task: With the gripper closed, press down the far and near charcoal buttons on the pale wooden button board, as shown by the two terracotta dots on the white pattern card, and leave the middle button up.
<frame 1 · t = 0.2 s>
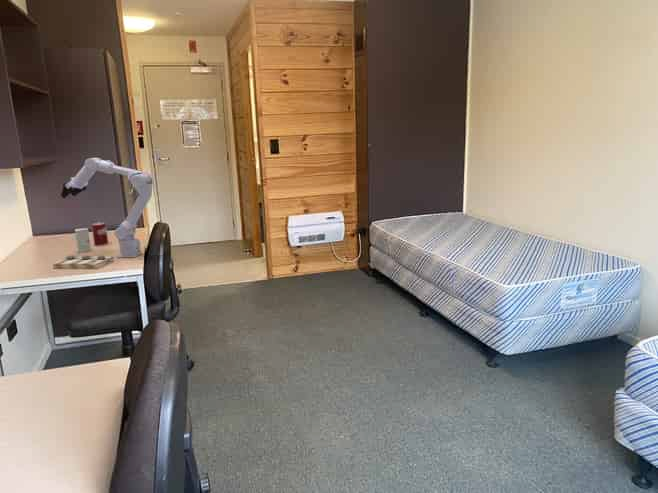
hand: (67, 195, 242), 31 cm above the table, tool tilted 45°, fingers open, 7 cm apart
skincare box: (84, 251, 258), on the table
soda can: (101, 244, 273), on the table
middle button: (85, 258, 233), point 3 cm above the table, slide at 0.0 cm
far button: (70, 258, 234), point 3 cm above the table, slide at 0.0 cm
button board: (84, 264, 232), on the table
puzzle toy: (128, 244, 272), on the table
near button: (101, 258, 232), point 3 cm above the table, slide at 0.0 cm
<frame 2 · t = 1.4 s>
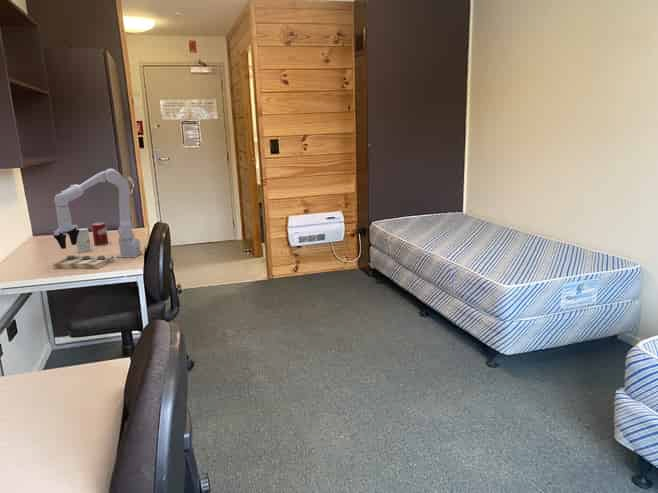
hand: (68, 246, 233), 8 cm above the table, tool pointing down, fingers open, 7 cm apart
nothing on the table moved.
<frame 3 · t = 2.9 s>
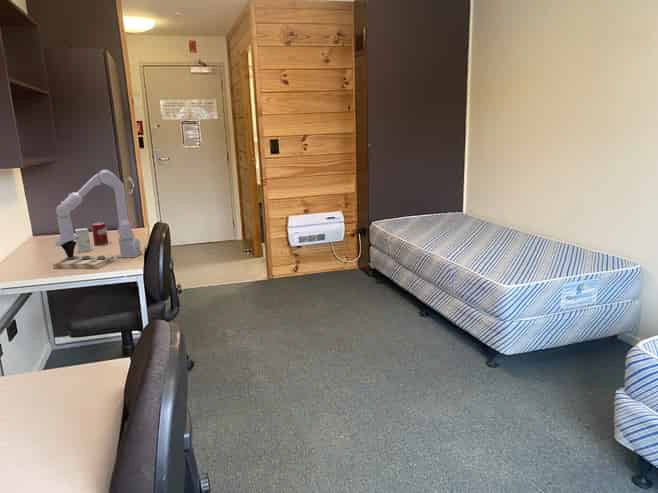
hand: (70, 256, 234), 3 cm above the table, tool pointing down, fingers closed, pressing on far button
far button: (70, 258, 234), point 3 cm above the table, slide at 0.2 cm, touching gripper
everything else where it was.
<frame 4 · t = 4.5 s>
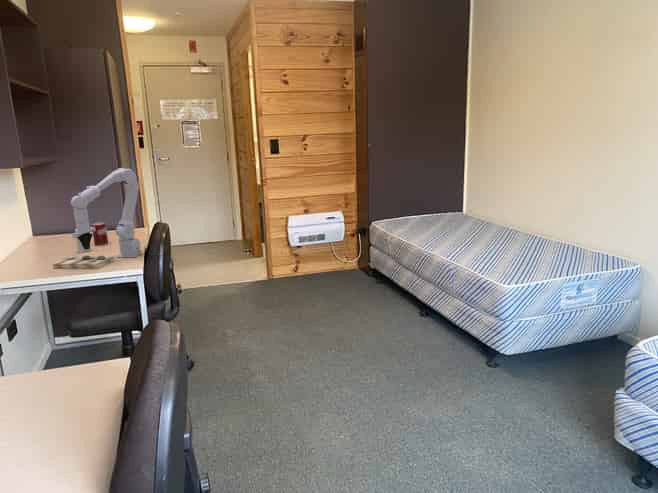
hand: (86, 249, 232), 7 cm above the table, tool pointing down, fingers closed
far button: (71, 260, 235), point 2 cm above the table, slide at 1.0 cm
everything else where it was.
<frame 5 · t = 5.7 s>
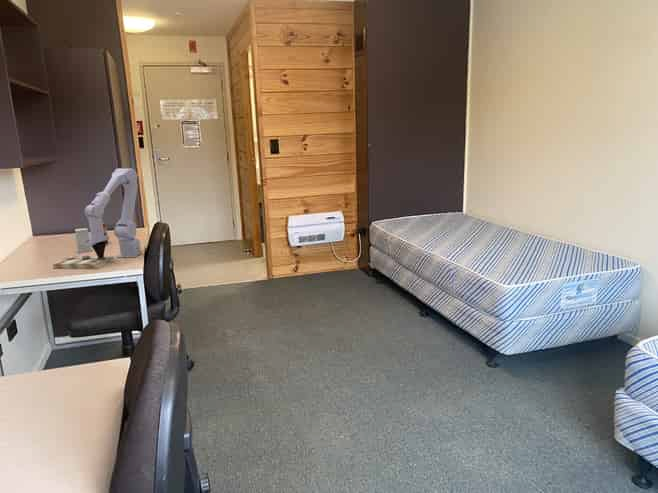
hand: (100, 257, 232), 3 cm above the table, tool pointing down, fingers closed, pressing on near button
near button: (101, 259, 232), point 2 cm above the table, slide at 0.5 cm, touching gripper
everything else where it was.
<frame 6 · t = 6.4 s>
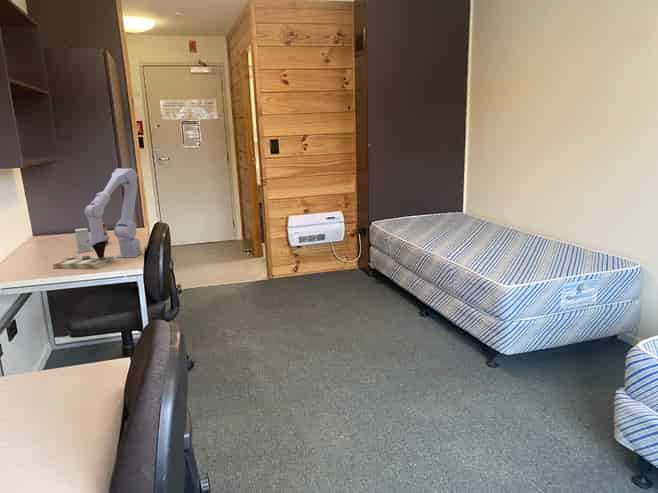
hand: (101, 257, 232), 3 cm above the table, tool pointing down, fingers closed
near button: (101, 260, 232), point 2 cm above the table, slide at 1.0 cm
everything else where it was.
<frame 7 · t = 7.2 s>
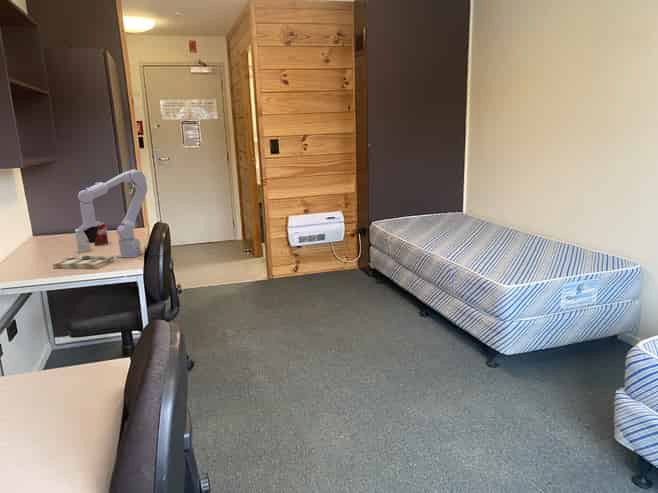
hand: (92, 242, 236), 9 cm above the table, tool pointing down, fingers closed
nothing on the table moved.
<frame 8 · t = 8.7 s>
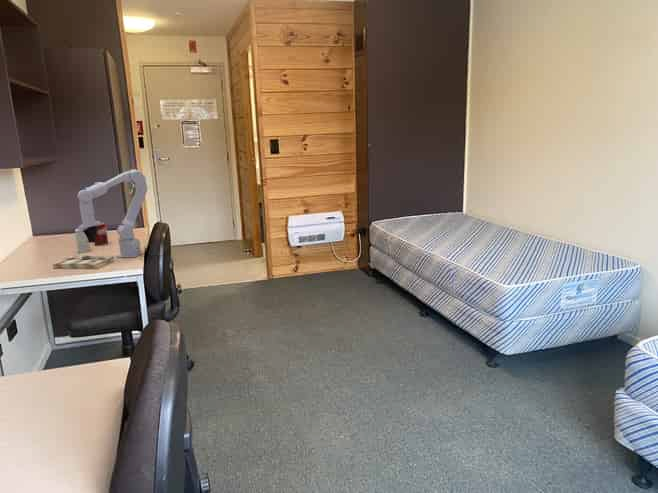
hand: (92, 242, 236), 9 cm above the table, tool pointing down, fingers closed
nothing on the table moved.
at the end: far button slide at 1.0 cm; near button slide at 1.0 cm; middle button slide at 0.0 cm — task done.
